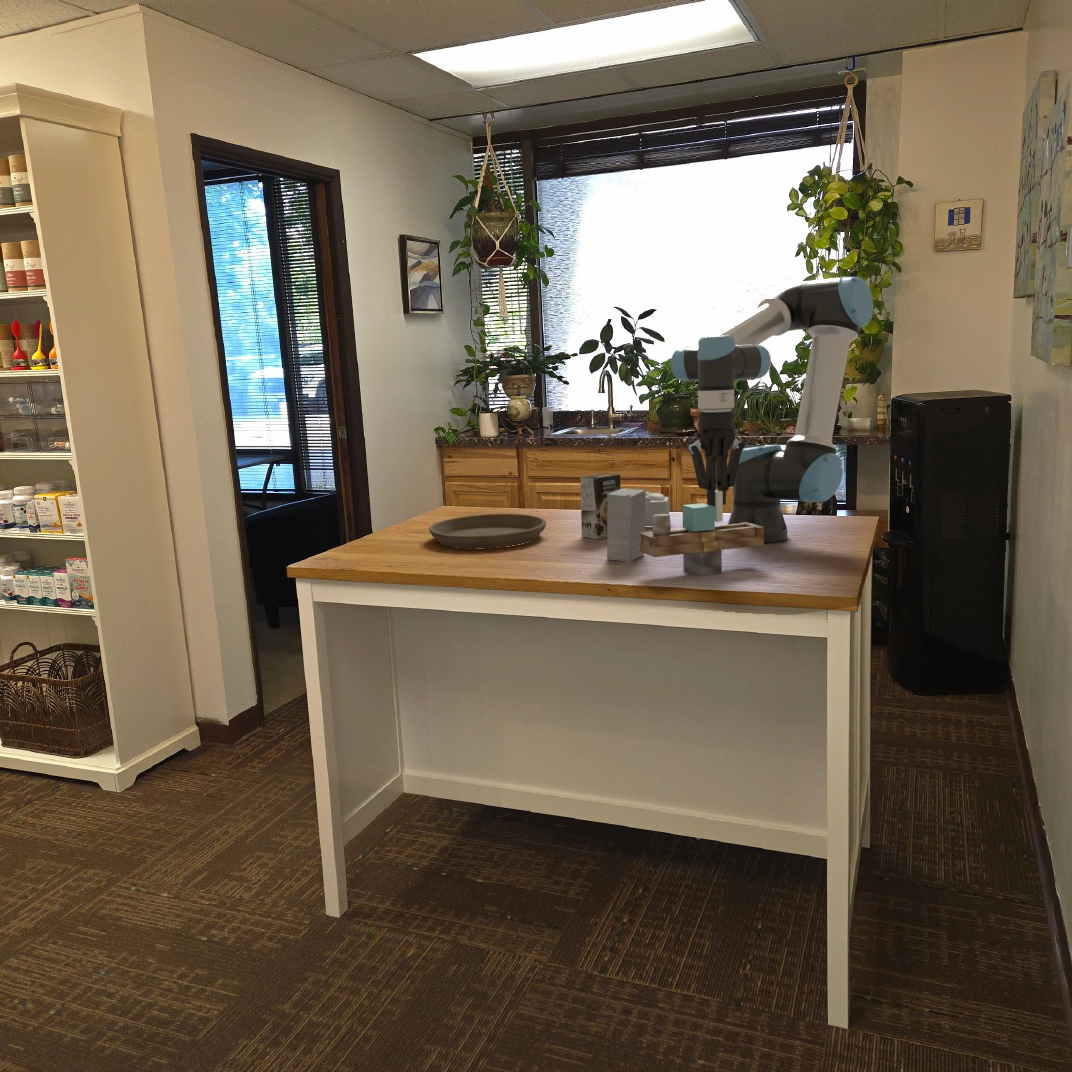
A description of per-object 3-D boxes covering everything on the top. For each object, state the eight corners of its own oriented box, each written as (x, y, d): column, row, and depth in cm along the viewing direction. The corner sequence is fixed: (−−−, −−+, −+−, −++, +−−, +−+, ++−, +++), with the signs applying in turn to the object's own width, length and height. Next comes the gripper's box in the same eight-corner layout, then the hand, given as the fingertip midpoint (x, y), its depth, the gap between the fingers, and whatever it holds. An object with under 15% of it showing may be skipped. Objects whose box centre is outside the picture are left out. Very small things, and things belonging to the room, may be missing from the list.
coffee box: (598, 540, 241) (596, 478, 238) (580, 537, 246) (579, 476, 243) (622, 534, 247) (621, 474, 244) (605, 532, 252) (603, 472, 249)
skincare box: (621, 553, 224) (619, 487, 221) (648, 555, 221) (647, 488, 218) (605, 560, 217) (603, 492, 214) (633, 562, 213) (631, 493, 210)
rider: (703, 535, 204) (703, 503, 203) (714, 539, 200) (714, 506, 198) (682, 537, 203) (682, 505, 201) (693, 541, 198) (693, 508, 197)
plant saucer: (452, 557, 228) (451, 539, 228) (415, 537, 256) (414, 520, 255) (566, 542, 241) (565, 525, 240) (519, 525, 269) (518, 509, 268)
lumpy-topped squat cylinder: (667, 528, 254) (667, 496, 253) (619, 528, 257) (619, 496, 256) (670, 521, 264) (669, 491, 263) (624, 521, 267) (623, 491, 266)
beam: (745, 561, 210) (745, 504, 208) (764, 568, 203) (765, 508, 200) (639, 573, 203) (638, 514, 200) (655, 581, 195) (654, 519, 193)
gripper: (696, 412, 192) (697, 526, 196) (752, 409, 196) (752, 520, 200) (680, 411, 199) (681, 520, 203) (734, 408, 203) (734, 515, 207)
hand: (716, 520), depth 202 cm, fingers closed
